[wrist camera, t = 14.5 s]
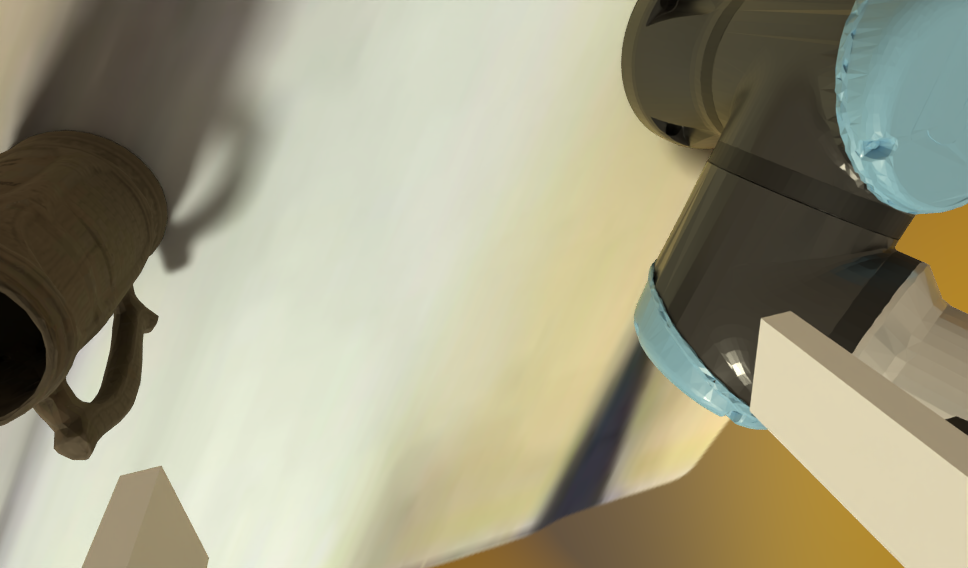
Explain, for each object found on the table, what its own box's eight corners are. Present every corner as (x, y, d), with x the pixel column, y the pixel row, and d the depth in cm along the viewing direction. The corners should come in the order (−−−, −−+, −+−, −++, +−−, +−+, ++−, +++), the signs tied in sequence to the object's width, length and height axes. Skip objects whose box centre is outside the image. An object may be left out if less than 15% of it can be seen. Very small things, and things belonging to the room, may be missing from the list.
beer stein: (-55, 177, 40) (-311, 352, 23) (73, 87, 39) (-95, 200, 22) (130, 325, 48) (41, 531, 32) (238, 253, 48) (205, 424, 31)
